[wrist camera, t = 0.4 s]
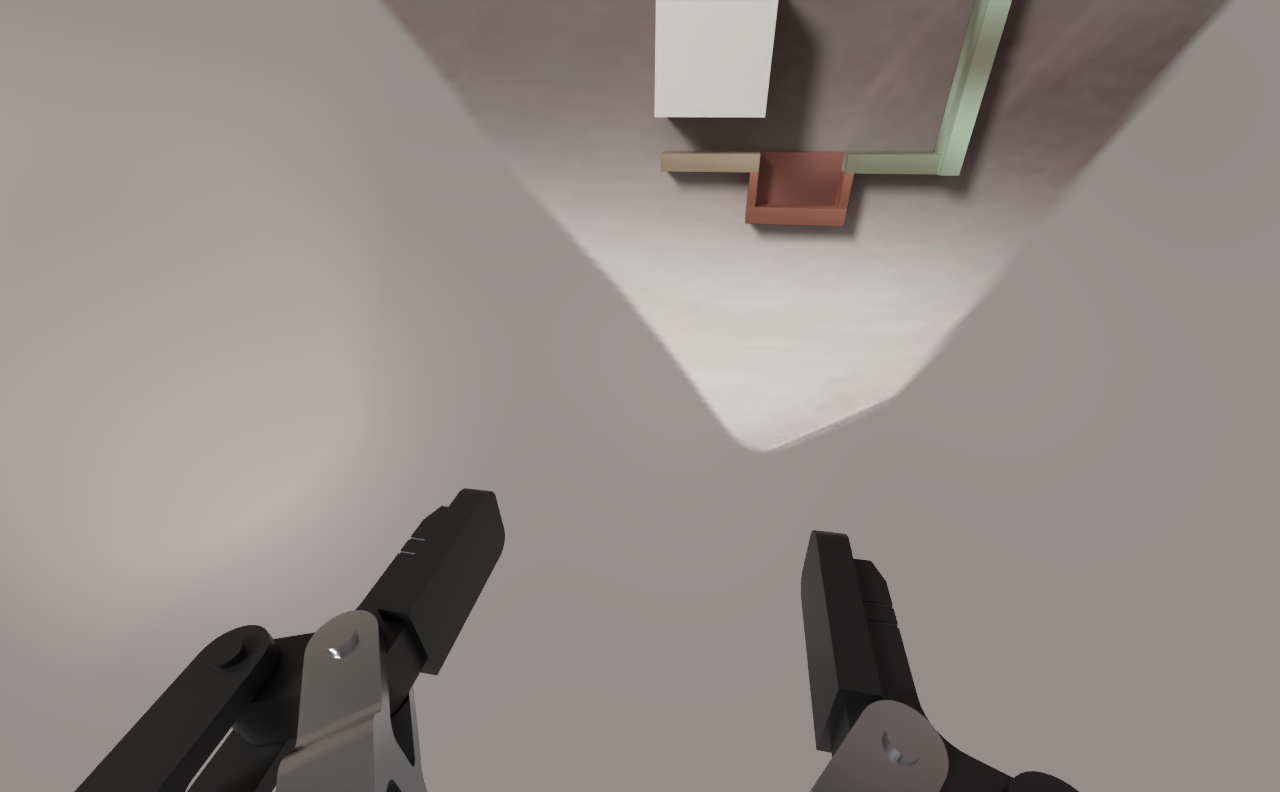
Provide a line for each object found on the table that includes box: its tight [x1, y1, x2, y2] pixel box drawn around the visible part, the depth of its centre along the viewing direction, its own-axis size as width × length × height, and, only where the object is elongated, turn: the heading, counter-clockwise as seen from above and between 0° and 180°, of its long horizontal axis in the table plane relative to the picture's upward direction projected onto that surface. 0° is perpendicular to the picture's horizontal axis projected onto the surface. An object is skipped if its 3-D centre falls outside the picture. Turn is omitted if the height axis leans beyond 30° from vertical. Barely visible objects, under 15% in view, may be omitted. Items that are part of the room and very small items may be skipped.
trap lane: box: [661, 0, 1012, 226], centre depth 27 cm, size 18×17×2 cm
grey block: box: [655, 0, 778, 118], centre depth 27 cm, size 6×6×4 cm
